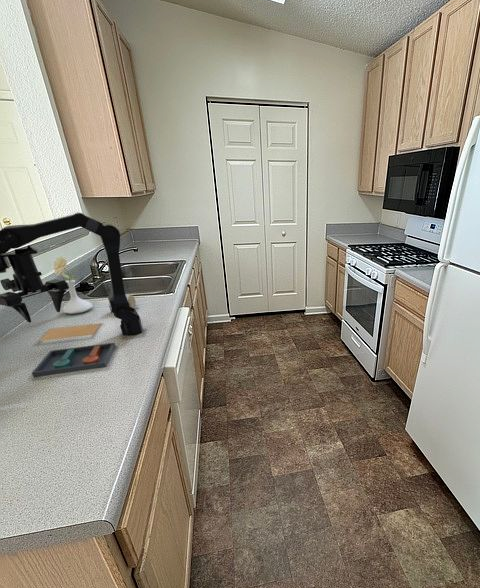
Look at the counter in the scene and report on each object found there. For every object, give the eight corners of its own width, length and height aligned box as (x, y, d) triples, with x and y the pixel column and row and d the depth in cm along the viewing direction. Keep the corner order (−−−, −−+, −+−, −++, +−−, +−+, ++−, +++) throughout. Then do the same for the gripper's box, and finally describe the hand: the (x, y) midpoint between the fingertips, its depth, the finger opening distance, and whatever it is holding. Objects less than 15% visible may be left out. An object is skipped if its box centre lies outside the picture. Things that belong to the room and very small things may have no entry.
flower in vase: (61, 311, 150) (41, 255, 138) (90, 305, 156) (72, 251, 145) (67, 319, 141) (46, 260, 130) (97, 312, 148) (79, 255, 136)
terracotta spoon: (106, 350, 113) (104, 344, 112) (98, 365, 103) (96, 360, 103) (92, 351, 112) (90, 346, 111) (82, 368, 102) (80, 362, 101)
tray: (116, 348, 116) (114, 342, 115) (106, 369, 103) (104, 362, 102) (52, 356, 111) (50, 350, 110) (34, 379, 99) (31, 372, 98)
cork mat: (100, 324, 135) (100, 323, 135) (91, 338, 123) (91, 337, 123) (50, 329, 131) (50, 329, 131) (36, 345, 119) (35, 344, 119)
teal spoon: (80, 353, 111) (78, 348, 110) (69, 369, 102) (67, 364, 101) (65, 355, 110) (63, 350, 109) (53, 372, 101) (50, 366, 100)
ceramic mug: (132, 313, 146) (128, 296, 142) (113, 314, 145) (108, 297, 141) (139, 305, 155) (136, 289, 152) (121, 306, 154) (117, 290, 151)
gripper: (40, 261, 112) (56, 304, 119) (-26, 275, 97) (-3, 324, 104) (61, 263, 108) (77, 308, 115) (-4, 278, 93) (19, 329, 100)
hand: (44, 317), depth 108 cm, fingers open, 9 cm apart
